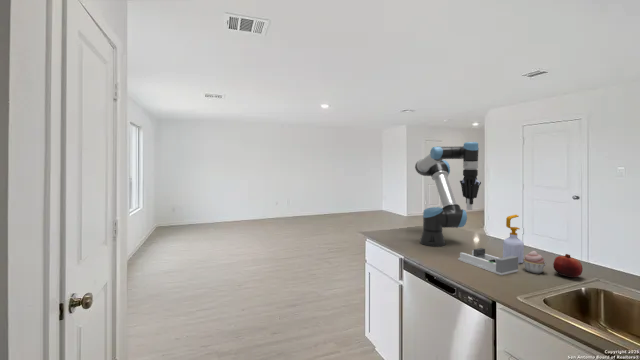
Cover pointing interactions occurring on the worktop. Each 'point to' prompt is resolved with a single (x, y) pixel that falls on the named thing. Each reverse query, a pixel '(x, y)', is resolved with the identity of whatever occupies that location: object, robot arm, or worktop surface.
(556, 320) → the worktop surface
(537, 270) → the cupcake
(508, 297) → the worktop surface
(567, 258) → the fruit
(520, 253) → the soap bottle
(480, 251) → the block with dark end
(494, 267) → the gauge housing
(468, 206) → the robot arm
